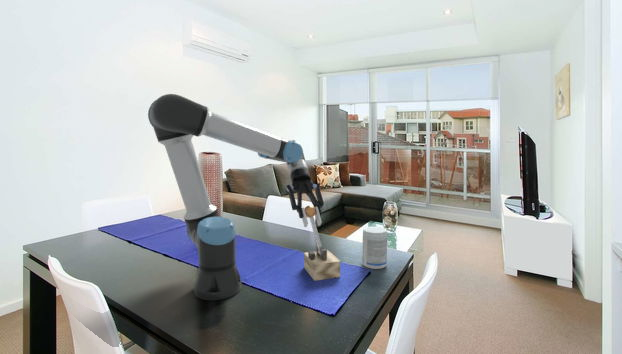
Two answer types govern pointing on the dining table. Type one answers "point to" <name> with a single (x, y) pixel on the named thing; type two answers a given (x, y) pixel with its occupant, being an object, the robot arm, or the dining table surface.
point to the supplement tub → (374, 247)
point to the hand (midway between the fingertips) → (313, 224)
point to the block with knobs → (321, 265)
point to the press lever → (313, 226)
